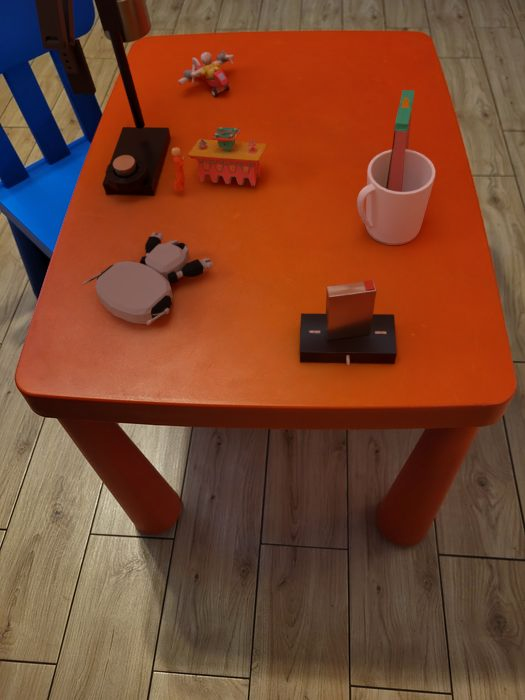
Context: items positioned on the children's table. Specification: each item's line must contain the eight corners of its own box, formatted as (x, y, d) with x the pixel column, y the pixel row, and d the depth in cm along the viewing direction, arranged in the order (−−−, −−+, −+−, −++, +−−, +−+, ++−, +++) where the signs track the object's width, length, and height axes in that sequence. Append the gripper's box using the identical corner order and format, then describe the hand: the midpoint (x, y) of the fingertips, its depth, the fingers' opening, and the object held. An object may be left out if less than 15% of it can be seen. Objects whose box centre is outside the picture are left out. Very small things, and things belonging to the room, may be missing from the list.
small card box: (327, 340, 77) (328, 295, 69) (325, 330, 78) (326, 284, 70) (370, 334, 77) (376, 289, 69) (367, 324, 78) (373, 278, 70)
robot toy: (157, 242, 92) (85, 304, 86) (152, 219, 89) (76, 282, 82) (220, 277, 88) (149, 344, 81) (217, 254, 84) (143, 323, 77)
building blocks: (398, 214, 87) (410, 116, 77) (169, 194, 94) (153, 102, 85) (405, 173, 96) (417, 80, 86) (195, 157, 103) (184, 70, 93)
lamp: (160, 129, 100) (131, 12, 84) (118, 128, 100) (81, 12, 84) (171, 91, 105) (146, -25, 89) (131, 91, 106) (99, -24, 90)
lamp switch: (134, 179, 94) (131, 170, 93) (113, 178, 94) (110, 169, 93) (139, 164, 96) (136, 155, 94) (118, 163, 96) (115, 154, 95)
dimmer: (299, 374, 77) (299, 364, 75) (301, 313, 83) (301, 301, 80) (395, 376, 76) (397, 365, 74) (391, 313, 81) (393, 301, 79)
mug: (401, 196, 93) (410, 140, 84) (435, 233, 89) (449, 178, 80) (338, 223, 91) (341, 168, 82) (371, 262, 86) (377, 209, 78)
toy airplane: (229, 100, 109) (225, 66, 103) (180, 99, 110) (173, 66, 105) (237, 69, 114) (233, 36, 108) (189, 69, 115) (183, 36, 109)
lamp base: (152, 203, 96) (146, 183, 93) (103, 201, 97) (96, 182, 94) (171, 138, 104) (166, 118, 101) (126, 137, 105) (119, 117, 102)
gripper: (30, -85, 53) (101, 123, 71) (106, -192, 66) (150, 6, 84) (-50, -83, 54) (41, 121, 72) (41, -189, 67) (98, 6, 85)
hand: (100, 59), depth 78 cm, fingers open, 13 cm apart
